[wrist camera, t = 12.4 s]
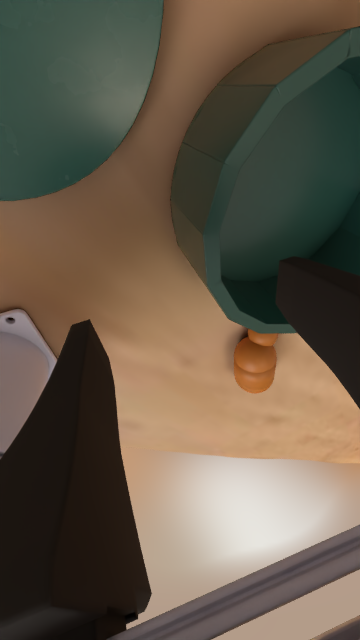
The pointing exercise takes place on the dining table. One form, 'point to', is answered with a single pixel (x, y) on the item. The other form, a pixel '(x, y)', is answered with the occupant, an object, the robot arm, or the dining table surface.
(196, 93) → the dining table surface
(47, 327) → the dining table surface
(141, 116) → the dining table surface
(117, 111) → the lid
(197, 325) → the dining table surface
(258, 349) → the croissant
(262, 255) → the pot
